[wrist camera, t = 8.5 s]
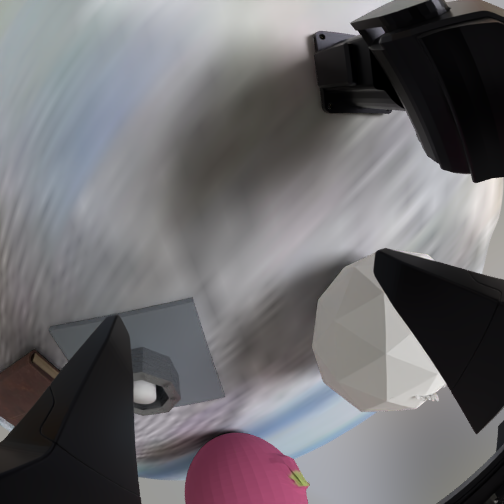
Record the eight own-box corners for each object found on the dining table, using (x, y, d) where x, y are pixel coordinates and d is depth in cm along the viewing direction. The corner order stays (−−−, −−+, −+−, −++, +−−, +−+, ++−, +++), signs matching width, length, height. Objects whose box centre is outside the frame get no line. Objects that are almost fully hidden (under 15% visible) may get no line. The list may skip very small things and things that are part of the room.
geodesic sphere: (478, 233, 21) (533, 334, 9) (439, 342, 27) (443, 447, 16) (334, 213, 26) (295, 305, 15) (324, 326, 33) (288, 427, 21)
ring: (163, 342, 23) (164, 368, 21) (184, 385, 26) (187, 408, 24) (98, 354, 22) (94, 378, 19) (126, 394, 25) (125, 417, 23)
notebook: (131, 420, 27) (131, 434, 26) (52, 441, 28) (51, 451, 26) (32, 347, 20) (26, 361, 18) (-22, 386, 21) (-26, 397, 19)
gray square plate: (192, 297, 23) (196, 326, 19) (224, 393, 29) (230, 418, 26) (50, 326, 20) (39, 353, 17) (112, 410, 27) (111, 435, 24)
